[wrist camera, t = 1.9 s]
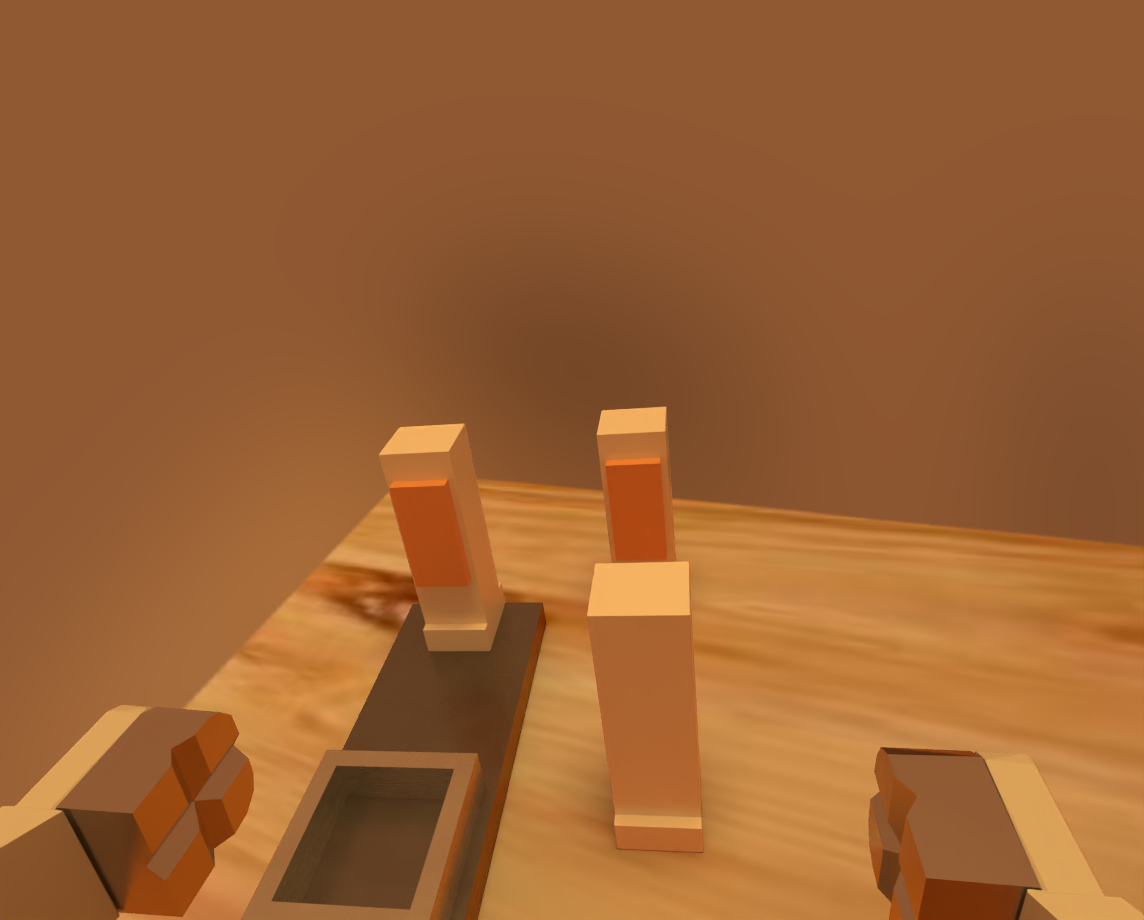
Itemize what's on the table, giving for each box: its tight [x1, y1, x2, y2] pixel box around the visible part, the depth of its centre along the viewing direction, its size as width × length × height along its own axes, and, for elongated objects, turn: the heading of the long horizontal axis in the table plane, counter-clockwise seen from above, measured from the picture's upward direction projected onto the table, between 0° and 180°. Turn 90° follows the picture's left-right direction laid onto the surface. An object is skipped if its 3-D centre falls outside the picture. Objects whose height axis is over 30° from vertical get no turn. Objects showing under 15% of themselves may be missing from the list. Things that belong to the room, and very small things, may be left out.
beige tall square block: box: [587, 562, 703, 852], centre depth 29 cm, size 4×4×12 cm
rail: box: [241, 603, 546, 920], centre depth 30 cm, size 8×30×4 cm, turn 173°
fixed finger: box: [379, 424, 505, 651], centre depth 39 cm, size 4×4×12 cm
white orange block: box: [597, 407, 676, 563], centre depth 41 cm, size 4×4×12 cm
